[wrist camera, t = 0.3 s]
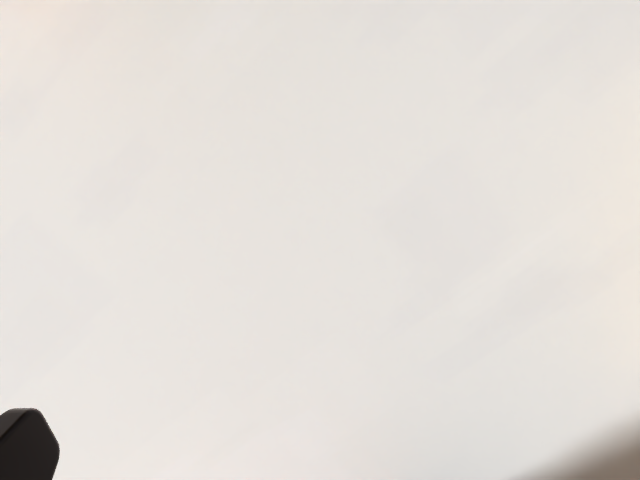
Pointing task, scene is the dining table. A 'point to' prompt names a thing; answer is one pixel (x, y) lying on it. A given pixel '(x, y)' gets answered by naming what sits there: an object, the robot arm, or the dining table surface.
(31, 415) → the robot arm
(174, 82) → the dining table surface
